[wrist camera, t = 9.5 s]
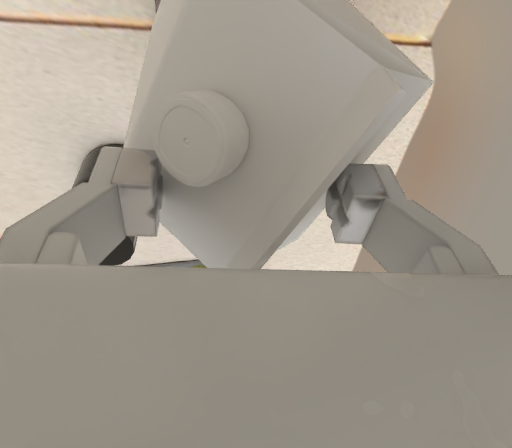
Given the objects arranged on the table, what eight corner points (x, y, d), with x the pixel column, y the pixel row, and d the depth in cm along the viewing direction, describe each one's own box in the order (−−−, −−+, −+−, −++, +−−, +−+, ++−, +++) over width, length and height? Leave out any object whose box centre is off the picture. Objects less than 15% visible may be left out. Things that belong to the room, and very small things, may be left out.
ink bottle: (174, 184, 49) (165, 255, 41) (122, 211, 52) (103, 283, 43) (119, 127, 43) (95, 197, 34) (63, 161, 46) (28, 235, 37)
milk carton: (316, -30, 22) (520, 163, 8) (254, 79, 26) (322, 330, 12) (201, -113, 19) (220, -24, 5) (151, 26, 23) (89, 281, 9)
